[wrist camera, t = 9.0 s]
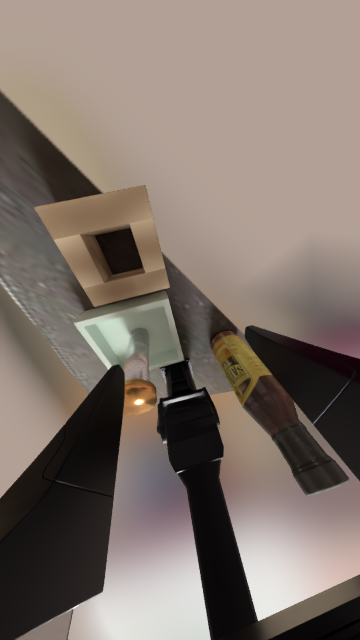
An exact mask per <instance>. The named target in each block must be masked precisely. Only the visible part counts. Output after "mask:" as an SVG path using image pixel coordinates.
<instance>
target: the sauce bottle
mask: <svg viewBox="0 0 360 640" xmlns="http://www.w3.org/2000/svg"><path fill="white" fill-rule="evenodd" d="M211 348H212V351H213V355H214V356H215V358H216V360H217V362H218V364H219V365H220V367H221V369H222V371H223V373H224V374H225V376H226V378H227V380H228V382H229V383H230V385H231V387H232V389H233V391H234V392H235V394H236V396H237V398H238V400H239V402H240V403H241V405H242V407H243V408H244V409H245V410H246V411H247V412H248V413H249V414H250V415H251V416H252V418H253V419H254V420H255V421H256V422H257V423H258V424H259V425H260V426H261V427H262V428H263V429H264V430H265V431H266V432H267V433H268V434H269V435H270V436H271V438H272V440H273V441H274V442H275V444H276V445H277V446H278V448H279V450H280V451H281V453H282V454H283V457H284V458H285V459H286V461H287V463H288V464H289V466H290V468H291V470H292V473H293V476H294V478H295V479H296V481H297V483H298V484H299V485H300V487H301V489H302V490H303V492H304V493H305V494H306V495H307V496H311V495H315V494H317V493H320V492H323V491H327V490H330V489H332V488H335V487H338V486H340V485H342V484H345V483H347V482H348V481H349V478H348V476H347V475H346V474H345V472H344V471H343V470H342V468H340V466H339V465H338V464H337V463H336V461H335V460H333V459H332V458H331V457H330V456H328V455H327V454H326V453H325V451H324V450H323V449H322V448H321V446H320V445H319V444H318V443H317V441H316V440H315V439H314V438H313V437H312V436H311V435H310V433H309V432H308V431H307V429H306V427H305V426H304V425H303V424H302V423H301V422H300V421H299V419H298V415H297V413H296V408H295V406H294V402H293V399H292V398H291V397H290V396H289V394H288V393H287V392H286V391H285V390H284V388H283V387H282V386H281V385H280V383H279V382H278V381H277V380H276V379H275V377H274V376H273V375H272V374H271V373H270V371H269V370H268V369H267V368H266V366H265V365H264V364H263V363H262V362H261V360H260V359H259V358H258V357H257V356H256V354H255V353H254V352H253V351H252V350H251V349H250V348H249V347H248V346H247V344H246V343H245V342H244V341H243V340H242V339H241V338H240V337H239V336H237V334H236V333H234V332H232V331H224V332H220V333H219V334H217V335H216V336H215V337H214V338H213V340H212V342H211Z"/></svg>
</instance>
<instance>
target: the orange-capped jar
mask: <svg viewBox="0 0 360 640" xmlns="http://www.w3.org/2000/svg"><path fill="white" fill-rule="evenodd" d="M123 371H124V373H125V400H124V409H123V416H134V415H139V414H142V413H145V412H147V411H149V410H150V409H152V408H153V407H154V406H155V404H156V402H157V396H156V387H155V386H154V384H152V383H151V382H149V332H148V331H147V330H146V329H144V328H135V329H134V330H132V332H131V334H130V339H129V343H128V348H127V353H126V358H125V363H124V368H123Z"/></svg>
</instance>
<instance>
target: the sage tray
mask: <svg viewBox="0 0 360 640" xmlns="http://www.w3.org/2000/svg"><path fill="white" fill-rule="evenodd" d="M74 325H75V326H76V327H77V329H78V330H79V331H80V333H81V334H82V335H83V337H84V338H85V339H86V341H87V342H88V343H89V344H90V346H91V347H92V348H93V350H94V351H95V352H96V354H97V355H98V356H99V358H100V359H101V360H102V362H103V363H104V364H105V366H106V367H107V368H108V370H109V369H110V368H111V366H113V365H116V364H119V365H120V366H121V368H122V369H123V368H124V363H125V358H126V353H127V348H128V343H129V339H130V334H131V332H132V330H134V329H135V328H144V329H146V330H147V331H148V332H149V371H150V370H153V369H157V368H160V367H163V366H167V365H170V364H173V363H177V362H180V361H183V360H184V357H183V353H182V350H181V346H180V342H179V338H178V334H177V330H176V326H175V322H174V319H173V315H172V311H171V307H170V303H169V299H168V296H167V293H166V290H164V291H160V292H156V293H152V294H148V295H144V296H140V297H136V298H133V299H129V300H125V301H121V302H117V303H113V304H109V305H105V306H101V307H98V308H94V309H90V310H86V311H84V312H83V313H82V315H81V316H80V317H79V318H78V319H77V320H76V321H75V322H74Z"/></svg>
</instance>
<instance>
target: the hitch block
mask: <svg viewBox="0 0 360 640" xmlns="http://www.w3.org/2000/svg"><path fill="white" fill-rule="evenodd" d="M34 208H35V210H36V212H37V213H38V215H39V216H40V218H41V220H42V221H43V223H44V225H45V226H46V228H47V230H48V231H49V233H50V235H51V236H52V238H53V240H54V241H55V243H56V245H57V246H58V248H59V249H60V251H61V253H62V254H63V256H64V258H65V259H66V261H67V263H68V264H69V266H70V268H71V269H72V271H73V273H74V274H75V276H76V278H77V279H78V281H79V282H80V284H81V286H82V287H83V289H84V291H85V292H86V294H87V296H88V297H89V299H90V301H91V302H92V304H93V306H94V307H96V306H100V305H104V304H108V303H112V302H116V301H120V300H123V299H127V298H131V297H135V296H139V295H143V294H147V293H151V292H155V291H158V290H162V289H166V288H170V286H169V282H168V277H167V273H166V269H165V265H164V261H163V257H162V252H161V248H160V244H159V240H158V236H157V232H156V228H155V224H154V219H153V215H152V211H151V207H150V202H149V198H148V194H147V190H146V186H145V185H144V186H139V187H134V188H129V189H123V190H119V191H113V192H108V193H103V194H98V195H93V196H88V197H83V198H78V199H73V200H68V201H63V202H58V203H53V204H48V205H43V206H38V207H34ZM127 228H131V230H132V233H133V236H134V239H135V242H136V246H137V249H138V252H139V255H140V258H141V261H142V264H143V267H144V268H140V269H136V270H132V271H128V272H123V273H119V274H115V275H112V272H111V270H110V268H109V266H108V264H107V261H106V259H105V257H104V255H103V253H102V250H101V248H100V246H99V244H98V242H97V240H96V237H95V236H96V235H100V234H105V233H109V232H114V231H118V230H123V229H127Z"/></svg>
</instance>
